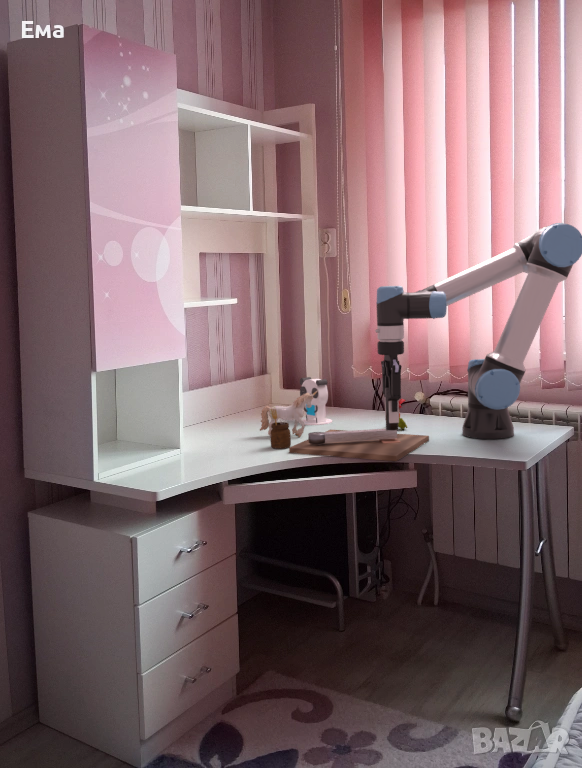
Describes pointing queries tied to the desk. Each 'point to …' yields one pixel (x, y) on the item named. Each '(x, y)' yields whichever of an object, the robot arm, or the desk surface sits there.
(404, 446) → the walnut board
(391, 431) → the lever
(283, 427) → the utensil holder
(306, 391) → the panda figurine
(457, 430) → the desk surface
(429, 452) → the desk surface
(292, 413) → the unicorn figurine
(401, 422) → the bird rattle
